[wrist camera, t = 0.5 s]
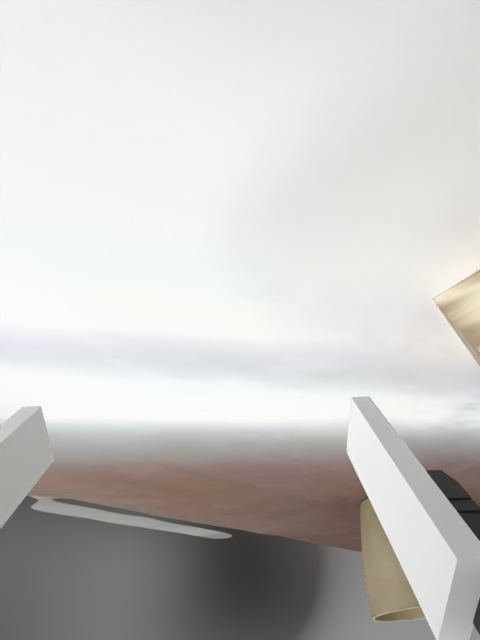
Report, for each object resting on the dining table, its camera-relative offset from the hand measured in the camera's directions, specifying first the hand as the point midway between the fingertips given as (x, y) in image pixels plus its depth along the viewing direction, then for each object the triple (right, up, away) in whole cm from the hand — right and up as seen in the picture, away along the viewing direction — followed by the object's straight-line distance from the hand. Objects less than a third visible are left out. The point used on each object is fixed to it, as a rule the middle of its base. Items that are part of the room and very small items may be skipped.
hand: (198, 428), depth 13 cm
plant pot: (+29, -30, +47) cm, 63 cm away
